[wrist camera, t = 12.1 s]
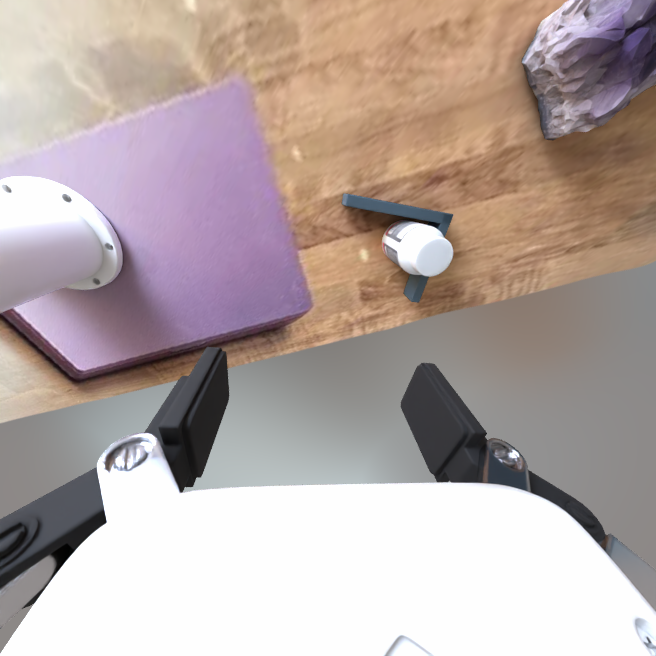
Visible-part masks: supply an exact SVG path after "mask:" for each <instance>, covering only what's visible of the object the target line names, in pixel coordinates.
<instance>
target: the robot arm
mask: <svg viewBox="0 0 656 656" xmlns="http://www.w3.org/2000/svg"><path fill="white" fill-rule="evenodd" d="M122 263H123V253H122V248H121V244H120V242H119V239H118V237H117V234H116V233H115V231H114V229H113V228H112V226H111V224H110V223H109V222H108V221H107V219H106V218H105V217H104V216H103V214H102V213H101V212H100V211H99V210H98V209H97V208H96V207H95V206H94V205H93V204H91V203H90V202H89V201H88V200H86V199H85V198H84V197H82V196H81V195H80V194H78V193H76V192H75V191H73V190H71V189H69V188H68V187H66V186H64V185H61V184H59V183H56V182H54V181H51V180H47V179H43V178H39V177H27V176H16V177H9V178H5V179H2V180H0V313H2V312H4V311H6V310H9V309H11V308H14V307H16V306H19V305H21V304H24V303H26V302H29V301H31V300H34V299H36V298H39V297H41V296H44V295H46V294H49V293H51V292H53V291H56V290H58V289H61V288H63V287H65V288H70V289H76V290H90V289H96V288H99V287H102V286H104V285H106V284H108V283H110V282H112V281H113V280H114V279H115V278H116V277H117V276H118V274H119V272H120V271H121V267H122ZM228 400H229V385H228V370H227V356H226V352H224V351H222V349H221V348H214V347H207V348H206V349H205V351H204V352H203V354H202V356H201V357H200V359H199V361H198V362H197V364H196V366H195V367H194V369H193V370H192V372H191V374H190V375H189V376H182V377H181V378H180V379H179V380H178V382H177V383H176V385H175V386H174V388H173V389H172V391H171V393H170V394H169V396H168V397H167V399H166V400H165V402H164V403H163V405H162V406H161V408H160V409H159V411H158V413H157V414H156V415H155V417H154V419H153V420H152V422H151V423H150V425H149V426H148V428H147V429H146V431H145V432H144V433H136V434H132V435H129V436H126V437H124V438H122V439H120V440H118V441H116V442H115V443H114V444H112V445H111V446H110V447H109V448H107V449H106V451H105V452H104V453H103V454H102V455H101V457H100V459H99V461H98V466H97V467H96V468H94V469H92V470H91V471H89V472H87V473H85V474H83V475H81V476H79V477H78V478H76V479H74V480H72V481H70V482H68V483H67V484H65V485H63V486H61V487H59V488H57V489H55V490H54V491H52V492H50V493H48V494H46V495H44V496H43V497H41V498H39V499H37V500H35V501H33V502H31V503H30V504H28V505H26V506H24V507H22V508H20V509H19V510H17V511H15V512H13V513H11V514H9V515H7V516H6V517H4V518H2V519H0V629H1V628H2V627H3V626H4V625H5V624H6V623H7V622H8V621H9V620H10V619H11V618H12V617H13V616H14V615H15V614H16V613H17V612H19V611H20V610H21V609H23V608H25V607H28V606H30V605H32V604H34V603H35V602H36V603H35V604H34V606H33V607H32V608H31V610H30V611H29V613H28V614H27V616H26V617H25V619H24V620H23V621H22V623H21V624H20V626H19V627H18V629H17V630H16V632H15V633H14V635H13V636H12V638H11V639H10V640H9V642H8V644H7V645H6V646H5V648H4V650H3V651H2V652H1V654H0V656H656V570H655V569H654V568H653V567H651V566H650V565H649V564H648V563H646V562H645V561H644V560H642V559H641V558H640V557H639V556H638V555H636V554H635V553H634V552H633V551H632V550H630V549H629V548H628V547H627V546H625V545H624V544H623V543H622V542H620V541H619V540H618V539H617V538H615V537H614V536H613V535H611V534H608V535H606V534H605V532H604V530H603V527H602V525H601V524H600V522H599V521H598V519H597V518H596V517H595V516H594V515H593V513H592V512H591V511H590V510H589V509H588V508H586V507H585V506H584V505H583V504H582V503H580V502H579V501H577V500H576V499H575V498H573V497H571V496H570V495H568V494H567V493H565V492H563V491H562V490H560V489H558V488H557V487H555V486H553V485H552V484H550V483H548V482H547V481H545V480H544V479H542V478H540V477H539V476H537V475H535V474H534V473H532V472H531V471H529V470H528V466H527V463H526V461H525V459H524V458H523V456H522V455H521V454H520V453H519V452H518V450H516V449H515V448H514V447H513V446H511V445H510V444H508V443H507V442H505V441H502V440H500V439H496V438H491V439H489V440H487V439H486V438H485V436H486V434H487V433H486V431H485V430H484V429H483V427H482V426H481V425H480V423H479V422H478V421H477V419H476V418H475V417H474V415H473V414H472V413H471V412H470V410H469V409H468V408H467V406H466V405H465V404H464V402H463V401H462V400H461V398H460V397H459V396H458V394H457V393H456V392H455V390H454V389H453V388H452V386H451V385H450V384H449V383H448V381H447V380H446V379H445V377H444V376H443V375H442V373H441V372H440V371H439V369H438V368H437V367H436V366H435V364H431V363H421V364H420V365H419V366H417V368H416V370H415V372H414V375H413V377H412V379H411V381H410V383H409V385H408V388H407V390H406V392H405V394H404V397H403V399H402V401H401V408H402V411H403V413H404V415H405V418H406V420H407V422H408V424H409V426H410V429H411V431H412V433H413V435H414V437H415V440H416V442H417V444H418V446H419V448H420V451H421V453H422V455H423V457H424V460H425V462H426V464H427V466H428V469H429V471H430V472H431V473H432V474H434V476H435V478H436V481H437V482H448V481H449V480H450V482H451V483H390V484H339V485H295V486H259V487H235V488H216V489H205V490H195V491H189V492H183V490H184V488H185V487H193V485H194V482H195V480H196V477H201V476H202V474H203V471H204V469H205V466H206V463H207V460H208V457H209V454H210V451H211V449H212V446H213V443H214V440H215V437H216V434H217V431H218V429H219V426H220V423H221V420H222V417H223V415H224V412H225V409H226V406H227V403H228Z"/></svg>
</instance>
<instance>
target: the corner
mask: <svg viewBox="0 0 656 656" xmlns="http://www.w3.org/2000/svg"><path fill="white" fill-rule="evenodd" d="M342 205H345V206H348V207H354V208H359V209H365V210H370V211H375V212H381V213H386V214H392V215H397V216H402V217H408V218H413V219H419V220H424V221H428V224H427V225H428V226H432V227H434V228H436V229H438V230H439V231H440V232H441V233H442V234H443V236H444V237H445V235H446V232H447V230H448V227H449V225H450V222H451V220H452V217H453V214H448V213H443V212H438V211H433V210H428V209H423V208H417V207H412V206H407V205H402V204H397V203H392V202H386V201H381V200H376V199H371V198H366V197H361V196H355V195H350V194H343V199H342ZM428 278H429V277H428V276H423V275H413V274H410V276H409V279H408V281H407V284H406V287H405V290H404V294H405V295H406V296H407V298H408V299H409V300H410V301H411V302H419V301H420V298H421V296H422V293H423V291H424V288H425V286H426V283H427V281H428Z"/></svg>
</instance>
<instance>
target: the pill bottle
mask: <svg viewBox="0 0 656 656" xmlns="http://www.w3.org/2000/svg"><path fill="white" fill-rule="evenodd" d="M382 249H383V251H384V253H385V255H386V256H387V257H388V258H389V259H390V260H392V261H393V262H394V263H396V264H397V265H398V266H399V267H401V268H402V269H403V270H404V271H406V272H408V273H410V274H413V275H423V276H428V277H431V276H436V275H438V274H440V273H442V272H443V271H444V270H445V269H446V268H447V267H448V266H449V264H450V262H451V260H452V257H453V248H452V245H451V243H450V242H449V241H448V240H446V239H445V238H444V236H443V234H442V233H441V232H440V231H439V230H438V229H436V228H434V227H432V226H428V225H424V224H421V223H417V222H413V221H409V220H399V221H397V222H395V223H393V224H392V225H390V226H389V227H388V229H387V230H386V231H385V233H384V235H383V239H382Z"/></svg>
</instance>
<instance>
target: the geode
mask: <svg viewBox="0 0 656 656" xmlns="http://www.w3.org/2000/svg"><path fill="white" fill-rule="evenodd" d="M522 64H523V66H524V69H525V71H526V75H527V79H528V82H529V85H530V87H531V88H532V89H533V92H534V94H535V96H536V97H537V99H538V110H539V113H540V122H541V130H542V132H543V135H544V138H545V139H547V140H555V139H556V138H558V137H561V136H564V135H567V134H570V133H572V132H574V131H580V132H587V131H589V130H591V129H593V128H595V127H599V126H602V125H604V124H606V123H607V122H608V121H609V120H610V119H611V118H612V117H613V116H614V115H615V114H616V113H617V112H618V111H620V110H622V109H623V108H625V107H626V106H628V105H629V103H630V100H631V99H632V98H634V97H636V96H637V95H639V94H640V93H642V92H643V91H645V90H646V89H647V88H649V87H651V86H653V85H655V84H656V0H568V1H567V2H565V3H564V4H563V6H562V7H560V8H559V9H558V10H557V11H555V12H554V13H552V14H551V15H550V16H548V17H547V18H546V19H544V20H543V21H541V23H540V25H539V27H538V29H537V32H536V35H535V38H534V40H533V41H532V43H531V44H530V46H529V48H528V49H527V51H526V53H525V55H524V57H523V59H522Z"/></svg>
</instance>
